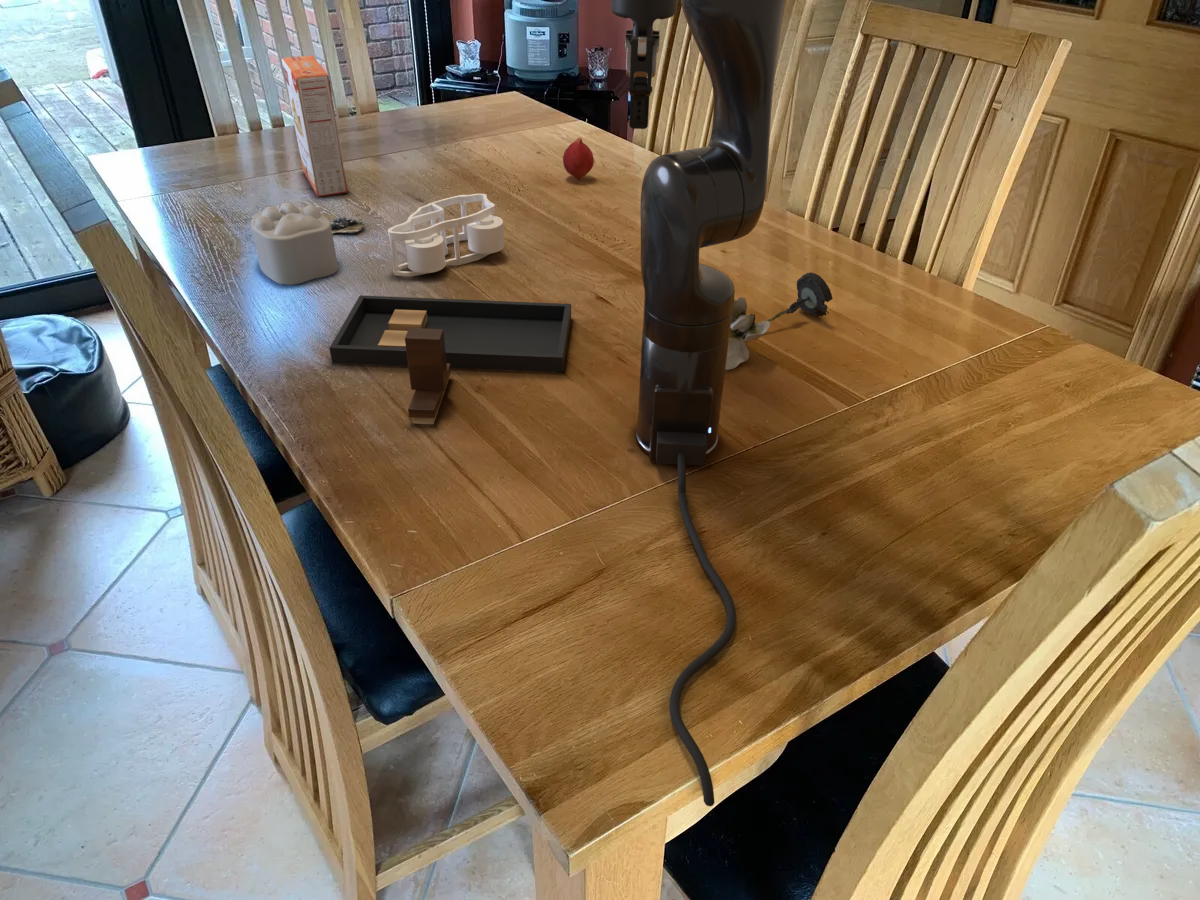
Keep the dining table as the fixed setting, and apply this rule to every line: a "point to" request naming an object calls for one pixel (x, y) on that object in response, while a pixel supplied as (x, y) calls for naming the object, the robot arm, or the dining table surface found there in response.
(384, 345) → the offcut
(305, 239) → the lumpy-topped squat cylinder
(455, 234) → the wheeled car silhouette
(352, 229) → the lumpy flat slab
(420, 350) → the brush
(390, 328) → the offcut
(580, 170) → the onion
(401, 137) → the dining table surface
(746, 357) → the artificial flower
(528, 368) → the tray
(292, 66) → the cracker box
